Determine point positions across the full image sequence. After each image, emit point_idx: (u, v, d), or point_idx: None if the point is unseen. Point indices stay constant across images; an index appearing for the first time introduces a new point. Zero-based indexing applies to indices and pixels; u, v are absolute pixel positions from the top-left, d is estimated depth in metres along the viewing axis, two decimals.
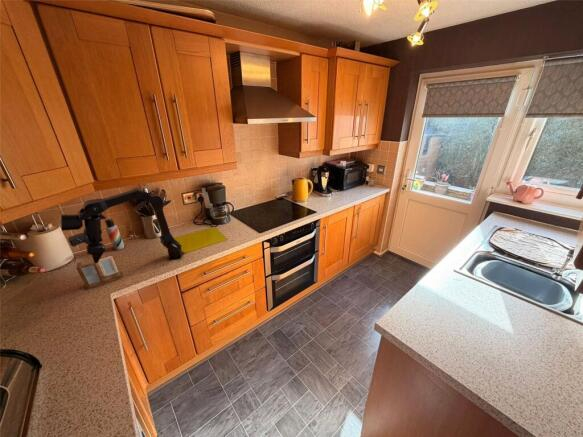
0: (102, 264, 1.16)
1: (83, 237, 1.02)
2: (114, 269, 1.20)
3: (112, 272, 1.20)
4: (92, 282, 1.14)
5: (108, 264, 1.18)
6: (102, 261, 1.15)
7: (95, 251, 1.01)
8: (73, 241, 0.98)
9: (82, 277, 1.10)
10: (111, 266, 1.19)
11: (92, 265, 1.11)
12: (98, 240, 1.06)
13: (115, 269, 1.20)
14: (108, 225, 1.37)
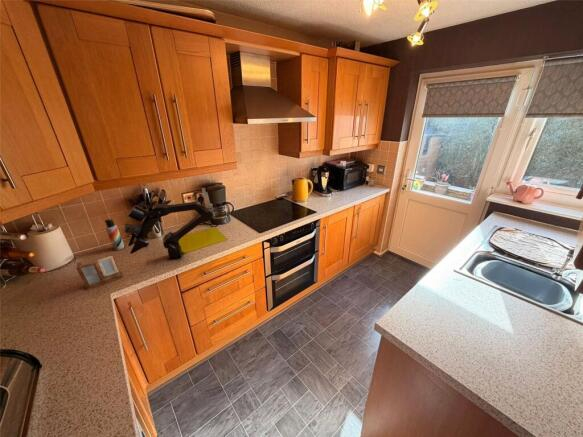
0: (102, 264, 1.16)
1: (137, 229, 1.19)
2: (114, 269, 1.20)
3: (112, 272, 1.20)
4: (92, 282, 1.14)
5: (108, 264, 1.18)
6: (102, 261, 1.15)
7: (140, 243, 1.15)
8: (130, 228, 1.15)
9: (82, 277, 1.10)
10: (111, 266, 1.19)
11: (92, 265, 1.11)
12: (144, 236, 1.22)
13: (115, 269, 1.20)
14: (108, 225, 1.37)
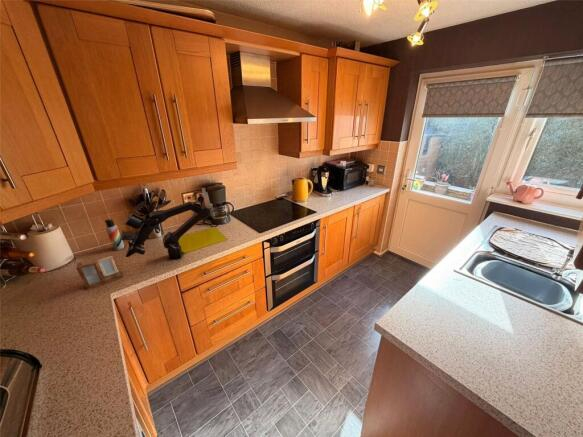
0: (102, 264, 1.16)
1: (134, 236, 1.19)
2: (114, 269, 1.20)
3: (112, 272, 1.20)
4: (92, 282, 1.14)
5: (108, 264, 1.18)
6: (102, 261, 1.15)
7: (137, 251, 1.16)
8: (127, 236, 1.15)
9: (82, 277, 1.10)
10: (111, 266, 1.19)
11: (92, 265, 1.11)
12: (141, 243, 1.22)
13: (115, 269, 1.20)
14: (108, 225, 1.37)
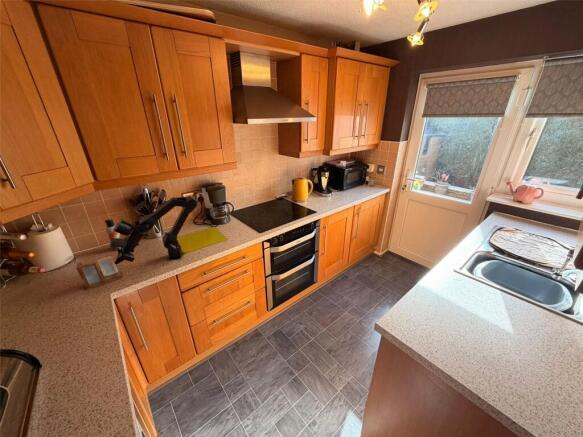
0: (102, 264, 1.16)
1: (123, 243, 1.17)
2: (114, 269, 1.20)
3: (112, 272, 1.20)
4: (92, 282, 1.14)
5: (108, 264, 1.18)
6: (102, 261, 1.15)
7: (126, 259, 1.14)
8: (115, 243, 1.13)
9: (82, 277, 1.10)
10: (111, 266, 1.19)
11: (92, 265, 1.11)
12: (131, 250, 1.20)
13: (115, 269, 1.20)
14: (108, 225, 1.37)
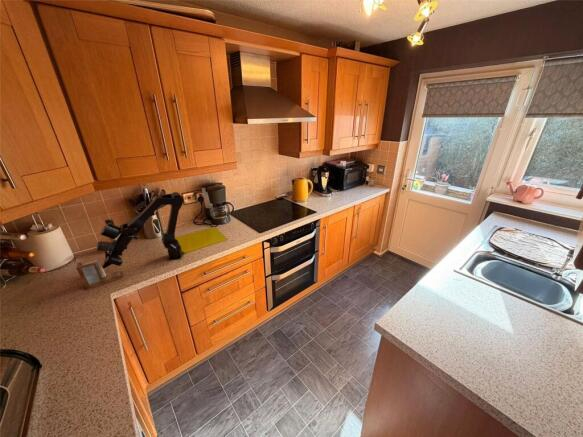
0: None
1: (110, 246, 1.14)
2: (101, 273, 1.17)
3: None
4: (92, 282, 1.14)
5: None
6: None
7: (113, 263, 1.11)
8: (102, 247, 1.10)
9: (82, 277, 1.10)
10: None
11: (92, 265, 1.11)
12: (119, 254, 1.17)
13: (103, 273, 1.17)
14: None
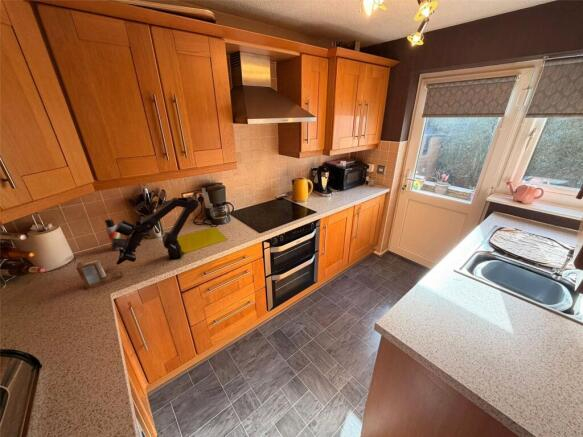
0: None
1: (124, 243, 1.17)
2: (101, 273, 1.17)
3: None
4: (92, 282, 1.14)
5: None
6: None
7: (127, 259, 1.14)
8: (117, 243, 1.13)
9: (82, 277, 1.10)
10: None
11: (92, 265, 1.11)
12: (132, 250, 1.21)
13: (102, 273, 1.17)
14: (108, 225, 1.37)
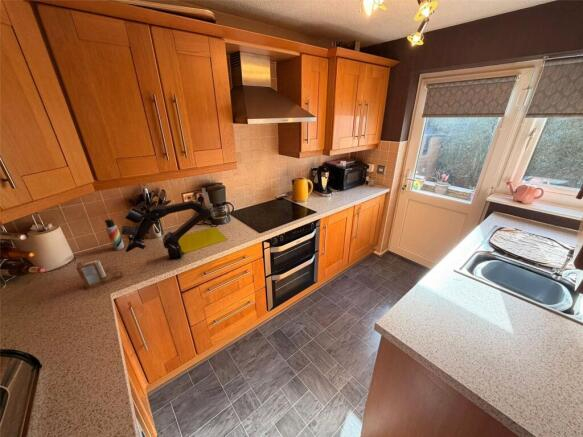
0: None
1: (134, 230, 1.18)
2: (101, 273, 1.17)
3: None
4: (92, 282, 1.14)
5: None
6: None
7: (137, 245, 1.15)
8: (127, 230, 1.14)
9: (82, 277, 1.10)
10: None
11: (92, 265, 1.11)
12: (141, 238, 1.21)
13: (102, 273, 1.17)
14: (108, 225, 1.37)
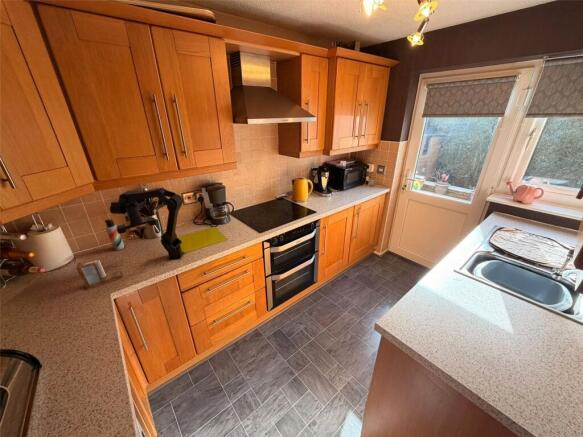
0: None
1: None
2: (101, 273, 1.17)
3: None
4: (92, 282, 1.14)
5: None
6: None
7: None
8: (125, 217, 1.31)
9: (82, 277, 1.10)
10: None
11: (92, 265, 1.11)
12: (131, 224, 1.26)
13: (102, 273, 1.17)
14: (108, 225, 1.37)
